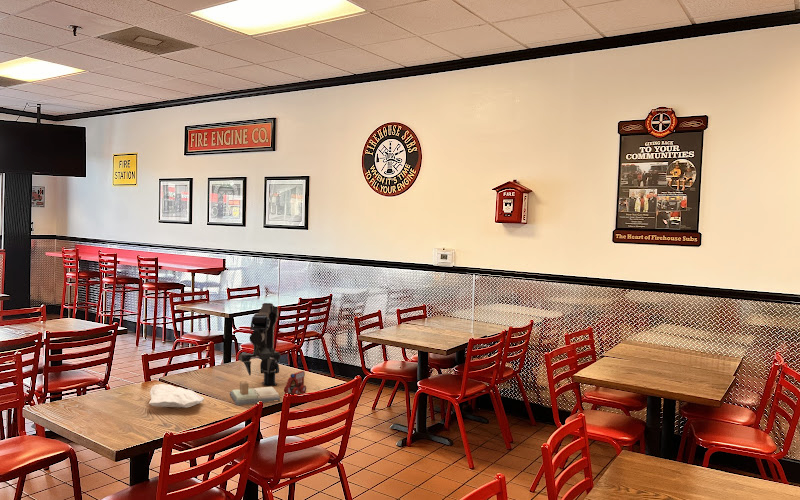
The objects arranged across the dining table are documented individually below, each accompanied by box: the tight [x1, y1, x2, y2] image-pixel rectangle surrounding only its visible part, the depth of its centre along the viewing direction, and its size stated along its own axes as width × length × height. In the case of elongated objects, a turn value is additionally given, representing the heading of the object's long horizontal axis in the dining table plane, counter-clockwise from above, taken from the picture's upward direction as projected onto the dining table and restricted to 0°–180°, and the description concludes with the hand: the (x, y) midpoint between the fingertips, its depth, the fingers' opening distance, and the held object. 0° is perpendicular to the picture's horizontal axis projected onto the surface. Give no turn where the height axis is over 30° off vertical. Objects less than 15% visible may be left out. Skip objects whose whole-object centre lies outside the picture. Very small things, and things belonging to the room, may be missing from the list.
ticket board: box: [229, 386, 281, 406], centre depth 297 cm, size 18×20×3 cm
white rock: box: [148, 383, 205, 409], centre depth 280 cm, size 24×35×9 cm
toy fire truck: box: [283, 370, 307, 395], centre depth 306 cm, size 7×12×10 cm, turn 148°
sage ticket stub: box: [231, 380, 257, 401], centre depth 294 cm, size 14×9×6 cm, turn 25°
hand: (259, 374), depth 292 cm, fingers open, 9 cm apart
